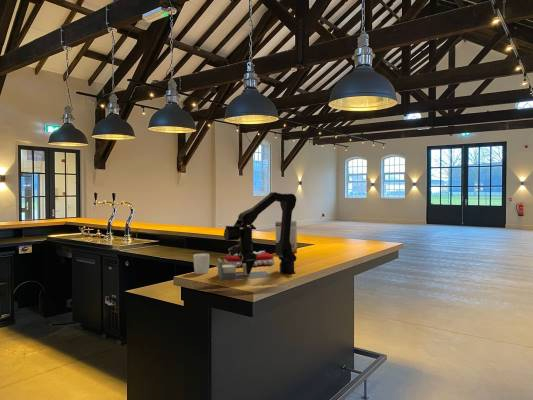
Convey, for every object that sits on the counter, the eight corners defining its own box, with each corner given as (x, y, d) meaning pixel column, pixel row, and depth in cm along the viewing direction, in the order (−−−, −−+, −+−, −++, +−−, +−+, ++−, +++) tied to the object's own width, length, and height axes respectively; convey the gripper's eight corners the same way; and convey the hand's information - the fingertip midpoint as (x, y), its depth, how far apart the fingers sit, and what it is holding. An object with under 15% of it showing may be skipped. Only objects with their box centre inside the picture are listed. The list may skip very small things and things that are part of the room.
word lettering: (265, 248, 242) (280, 255, 213) (265, 259, 242) (280, 268, 213) (220, 250, 234) (230, 258, 206) (221, 261, 235) (230, 271, 206)
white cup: (210, 272, 202) (210, 253, 202) (208, 276, 194) (208, 255, 194) (194, 273, 202) (194, 253, 201) (192, 276, 194) (192, 256, 193)
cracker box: (297, 251, 268) (296, 220, 268) (296, 252, 262) (296, 221, 262) (276, 251, 270) (275, 220, 269) (275, 252, 264) (275, 221, 263)
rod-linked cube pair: (248, 274, 192) (248, 262, 192) (250, 276, 186) (250, 264, 186) (221, 275, 189) (221, 264, 189) (223, 278, 183) (222, 266, 183)
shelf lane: (265, 273, 198) (265, 255, 198) (272, 279, 185) (272, 259, 184) (217, 276, 193) (217, 257, 192) (221, 283, 179) (220, 262, 179)
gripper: (226, 237, 196) (226, 269, 196) (232, 242, 177) (232, 277, 178) (248, 236, 198) (249, 268, 199) (256, 241, 180) (257, 275, 180)
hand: (246, 272), depth 189 cm, fingers open, 9 cm apart
